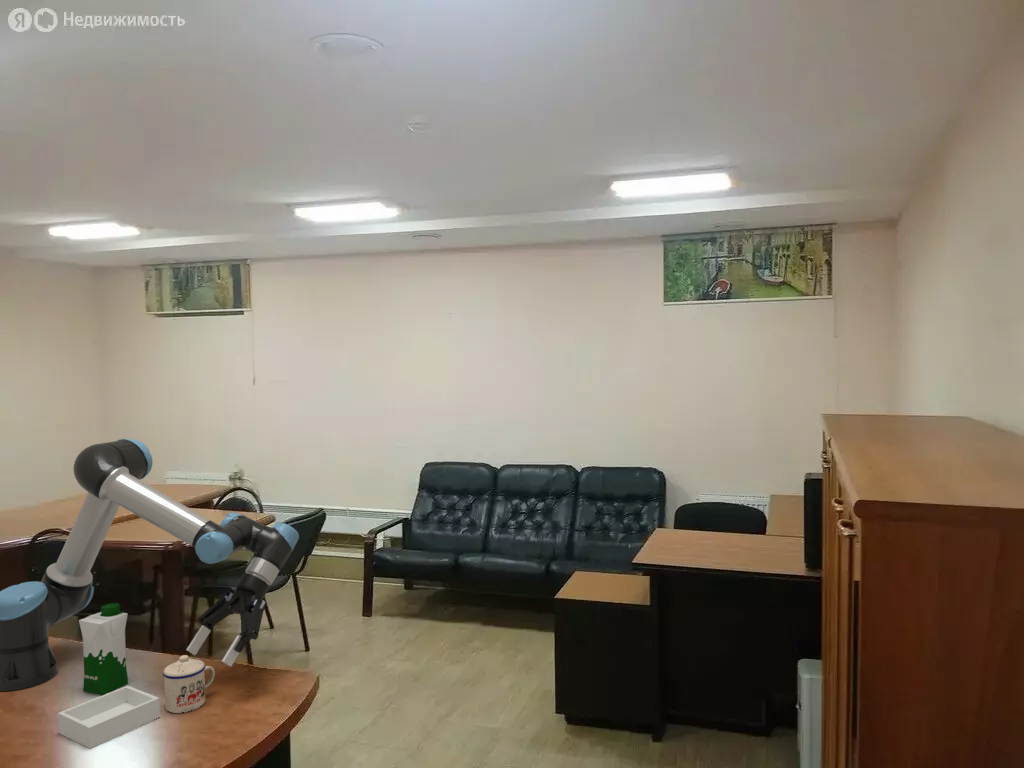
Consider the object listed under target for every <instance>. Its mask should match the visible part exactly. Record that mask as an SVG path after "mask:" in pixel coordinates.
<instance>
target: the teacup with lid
mask: <svg viewBox="0 0 1024 768" xmlns="http://www.w3.org/2000/svg"><path fill="white" fill-rule="evenodd" d="M208 670H209V672H210V673H209V678H208V679H207V681H205V680H206V679H205V677H206V676H205V671H208ZM215 671H216V670H215V668H214V667H213V666H210V665H205V662H204V661H203V660H200V659H194V658H191V657H190V658H189V655H187V654H183V655H181V656H179V659H178V660H176V661H175V662H172V663H171V664H170V663H169V665H167V666H166V667H165V668H164V669H163V672H162V675H163V678H164V679H163V680H164V709H165V710H166V711H169V713H171V712H172V713H173V714H183V713H182V712H184V713H188V711H189V712H192V711H194V710H197V709H199V708H201V707H202V706H203V705H204V704H205V702H206V688H208V687H210V685H211V684H212V683H213V681H214V679H215V673H216V672H215ZM200 706H201V707H200ZM191 710H192V711H191Z"/></svg>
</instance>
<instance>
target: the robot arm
mask: <svg viewBox="0 0 1024 768" xmlns="http://www.w3.org/2000/svg"><path fill="white" fill-rule="evenodd" d="M152 468H153V456H152V454H151V452H150V449H149V448H148V447H147V446H146V444H144V442H142V441H140V440H137V439H133V438H127V439H126V438H120V439H117V440H116V441H110V442H101V443H96V444H92V445H89V446H87V447H85V448H84V449H82V450H81V452H79V454H78V455H77V457H76V458H75V460H74V463H73V475H74V478H75V480H76V481H77V483H78V485H79V486H80V487H81V488H82V489H83V490H85V491H86V492H87V494H86V497H85V499H84V501H83V503H82V505H81V508H80V510H79V512H78V514H77V517H76V518H75V521H74V523H73V526H72V528H71V529H70V532H69V534H68V536H67V538H66V541H65V543H64V545H63V548H62V550H61V552H60V554H59V556H58V558H57V560H56V562H54V563H52V564H50V565H48V567H47V568H46V570H45V571H44V575H43V576H42V579H41V581H25V582H21V583H19V584H14V585H10V586H8V587H6V588H4V589H2V590H0V692H10V691H18V690H22V689H27V688H31V687H34V686H38V685H40V684H42V683H45V682H47V681H49V680H50V679H52V678H54V677H56V675H57V674H58V672H59V671H58V670H59V668H58V660H57V658H56V657H55V654H54V652H53V650H52V647H51V645H50V642H49V627H52V626H53V625H56V624H58V623H60V622H63V621H64V620H66V619H69V618H70V617H73V616H75V615H77V614H78V613H80V612H81V611H83V609H85V608H86V607H87V606H88V605H89V604H90V602H91V600H92V599H93V596H94V592H95V587H94V586H93V577H94V576H93V574H92V572H91V570H92V568H93V567H94V564H95V562H96V558H97V556H98V555H99V553H100V550H101V548H102V546H103V543H104V542H105V539H106V537H107V534H108V533H109V531H110V528H111V525H112V523H113V522H114V519H115V517H116V515H117V513H118V510H119V509H120V507H122V508H123V509H125V510H127V511H128V512H129V511H130V512H131V513H132V514H134V515H136V516H138V517H140V518H141V519H143V520H145V521H147V522H148V523H150V524H152V525H154V526H156V527H158V528H159V529H161V530H162V531H164V532H166V533H167V534H169V535H171V536H173V537H175V538H177V539H178V540H180V541H181V542H184V543H185V544H187V545H189V546H190V547H193V549H195V553H196V555H197V557H198V559H199V560H200V561H201V562H202V563H205V564H210V565H211V564H216V563H219V562H222V561H224V560H227V559H229V557H231V556H232V555H234V554H236V553H238V552H240V551H241V550H247V551H249V552H251V553H252V554H255V555H254V556H253V558H252V560H251V561H250V563H249V564H248V566H247V567H246V569H245V573H244V574H242V576H241V577H240V578H239V580H238V582H237V583H236V585H235V586H236V591H235V592H234V593H232V592H231V591H229V590H226V591H224V593H223V594H222V595H221V597H220V598H219V599H218V600H217V601H216V602H214V604H212V605H211V606H210V607H209V608H208V609H207V610H206V611H205V612H203V613H202V614H201V615H200V616H199V617H198V619H197V621H198V622H199V624H200V627H199V628H198V629H197V631H196V632H195V634H194V636H193V639H192V640H191V641H190V644H189V645H188V646H187V648H186V649H185V650H186V651H187V652H189V653H190V654H192V655H193V656H196V655H197V653H198V652H199V650H200V649H201V648H202V645H203V644H204V642H206V639H207V638H208V636H209V634H210V633H211V631H212V627H214V626H215V625H217V624H218V623H221V621H222V620H224V619H225V618H227V617H228V616H230V615H234V614H235V615H240V633H238V635H236V637H235V639H234V640H233V642H232V643H231V645H230V646H229V649H228V650H227V651H226V653H225V655H224V657H223V658H222V660H221V662H223V664H225V665H227V666H228V667H232V666H233V664H234V663H235V661H236V659H237V657H238V655H240V653H242V652H243V650H244V648H245V647H246V645H247V643H248V642H249V641H251V640H254V641H255V640H257V639H258V637H259V633H260V628H261V625H262V624H261V623H262V619H263V615H264V614H263V613H264V611H265V609H266V607H267V605H268V603H267V602H266V601H265V600H263V599H264V597H265V596H266V595H267V592H268V591H269V590H270V586H271V585H272V584H273V583H274V581H275V579H276V577H277V576H278V574H279V573H280V571H281V569H282V568H283V566H284V565H285V563H286V562H287V560H288V558H289V557H290V555H291V553H292V552H293V551H294V548H295V546H296V545H297V543H298V541H299V539H300V535H299V533H298V531H297V530H296V529H295V528H294V527H292V526H291V525H289V524H287V523H285V522H284V523H283V522H280V521H279V522H276V523H275V524H274V525H273V526H272V527H270V526H267V525H264V524H263V523H260V522H258V521H256V520H254V519H252V518H250V517H248V516H247V515H244V514H241V513H237V512H235V511H232V512H229V513H227V515H226V516H225V517H224V518H223V519H222V521H221V522H220V524H217V523H216V522H214V521H212V519H211V520H210V519H209V518H207V517H206V516H203V515H202V514H200V513H198V512H197V511H195V510H193V509H191V508H190V507H189V506H186V505H184V504H183V503H181V502H179V501H177V500H175V498H172V497H170V496H169V495H167V494H165V493H164V492H161V491H160V490H158V489H157V488H155V487H153V486H152V485H149V483H148V484H147V482H144V480H143V479H144V478H145V477H147V476H148V475H149V474H150V472H151V470H152ZM142 480H143V481H142Z"/></svg>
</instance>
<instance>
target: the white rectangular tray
mask: <svg viewBox="0 0 1024 768" xmlns="http://www.w3.org/2000/svg"><path fill="white" fill-rule="evenodd" d="M160 714H161V713H160V697H157V696H155V695H152V694H150V693H147V692H146V691H142V690H140V689H138V688H135V687H132V686H130V685H124V686H122V687H120V688H118V689H116V690H114V691H112V692H110V693H108V694H105V695H99V696H98V697H95V698H93V699H90V700H88V701H85V702H83V703H80V704H78V705H75V706H73V707H70V708H68V709H65V710H63V711H60V712H57V719H58V721H57V722H58V734H60V736H61V735H62V736H64V737H66V738H68V739H69V740H72V741H73V742H76V744H77V743H78V744H79V745H81V746H83V747H85V748H88V749H89V750H90V748H91V749H92V748H95V747H98V746H99V744H100V745H102V744H105V743H106V742H108V741H110V740H112V739H115V738H117V737H119V736H122V735H124V734H126V733H128V732H131V731H133V730H135V729H137V728H139V727H141V726H144V725H146V724H149V723H150V722H153V721H155V720H157V719H159V718H158V717H160ZM156 718H157V719H156ZM154 719H155V720H154Z"/></svg>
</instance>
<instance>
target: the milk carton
mask: <svg viewBox="0 0 1024 768" xmlns="http://www.w3.org/2000/svg"><path fill="white" fill-rule="evenodd" d="M100 609H101V610H100V612H99V611H98V612H96V613H95V614H94V613H93V614H91V615H88V616H86V617H84V618H81V619H78V623H79V628H80V632H81V636H82V637H81V638H82V650H83V652H82V655H83V657H82V658H83V688H82V689H83V692H86V693H90V694H95V695H98V694H99V696H103V695H105V694H107V693H110V692H113V691H115V690H118V689H120V688H123V687H125V686H127V685H128V684H129V678H128V670H127V656H126V655H127V654H126V653H127V652H126V626H127V621H128V615H129V614H128V613H127V612H124V611H121V609H120V603H117V602H112V603H107V604H104V605H102V606H101V607H100Z"/></svg>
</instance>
